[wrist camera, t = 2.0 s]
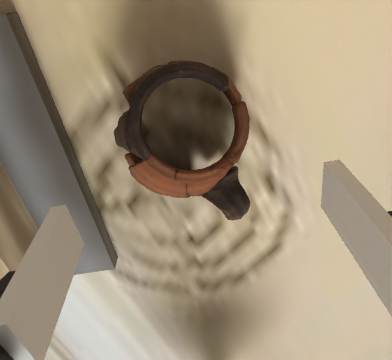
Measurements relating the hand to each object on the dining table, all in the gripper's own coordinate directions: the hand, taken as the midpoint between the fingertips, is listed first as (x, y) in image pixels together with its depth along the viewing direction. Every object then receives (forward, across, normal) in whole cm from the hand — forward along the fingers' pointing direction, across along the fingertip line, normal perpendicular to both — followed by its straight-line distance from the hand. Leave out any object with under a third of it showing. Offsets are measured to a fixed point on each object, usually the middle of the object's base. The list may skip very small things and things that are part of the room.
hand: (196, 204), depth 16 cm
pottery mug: (+10, 0, 0) cm, 10 cm away
